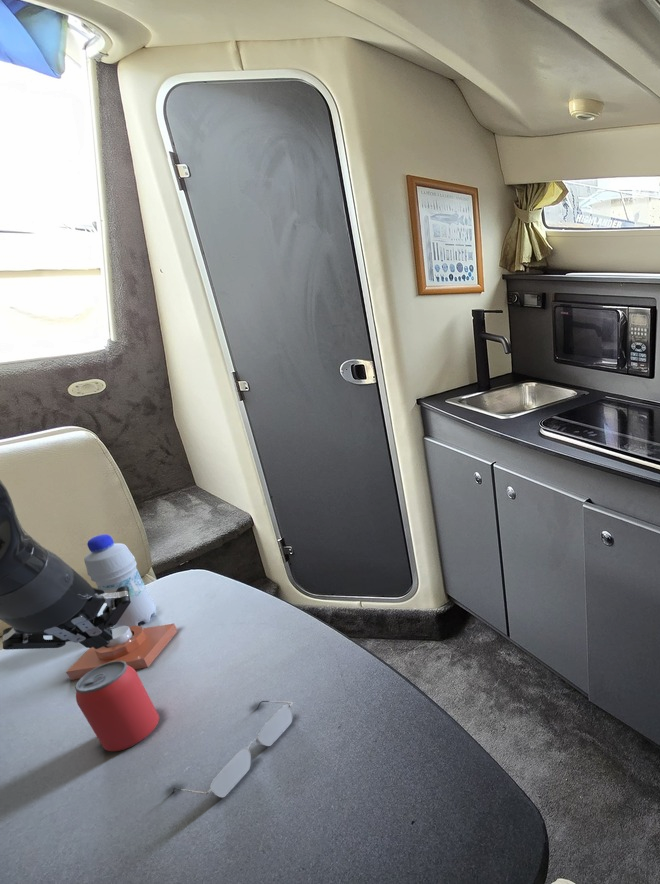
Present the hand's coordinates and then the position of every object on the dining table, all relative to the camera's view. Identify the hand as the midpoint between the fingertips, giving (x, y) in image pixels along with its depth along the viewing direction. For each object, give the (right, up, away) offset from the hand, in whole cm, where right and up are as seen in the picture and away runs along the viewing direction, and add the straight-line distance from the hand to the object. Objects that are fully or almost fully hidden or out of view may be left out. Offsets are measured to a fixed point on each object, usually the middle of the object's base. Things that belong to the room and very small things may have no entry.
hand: (102, 641), depth 72 cm
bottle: (-21, -8, +28) cm, 36 cm away
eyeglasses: (+20, -17, +1) cm, 26 cm away
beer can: (0, -16, +4) cm, 17 cm away
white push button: (-15, -8, +18) cm, 25 cm away
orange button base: (-15, -11, +19) cm, 27 cm away
